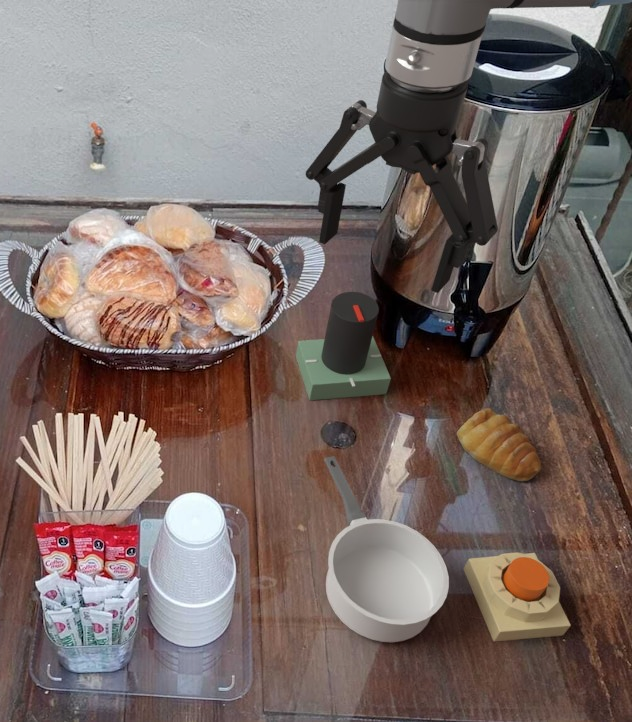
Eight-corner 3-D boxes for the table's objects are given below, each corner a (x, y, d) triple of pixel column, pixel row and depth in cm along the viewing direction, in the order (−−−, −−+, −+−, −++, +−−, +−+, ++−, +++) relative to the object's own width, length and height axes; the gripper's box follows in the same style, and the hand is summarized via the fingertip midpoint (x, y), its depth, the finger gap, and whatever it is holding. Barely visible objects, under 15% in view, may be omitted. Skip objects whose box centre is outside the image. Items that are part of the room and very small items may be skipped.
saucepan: (368, 475, 90) (377, 446, 86) (456, 635, 76) (472, 608, 72) (275, 496, 89) (280, 467, 85) (348, 662, 75) (358, 637, 71)
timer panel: (366, 346, 105) (370, 329, 103) (388, 399, 98) (393, 382, 96) (294, 351, 105) (296, 335, 103) (311, 405, 98) (314, 389, 96)
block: (528, 563, 82) (540, 543, 79) (563, 635, 76) (578, 617, 73) (463, 568, 81) (473, 549, 79) (493, 641, 76) (505, 623, 73)
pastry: (550, 467, 90) (562, 447, 87) (511, 495, 88) (522, 475, 85) (485, 417, 96) (494, 396, 93) (447, 441, 93) (455, 421, 91)
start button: (532, 565, 77) (539, 555, 76) (548, 599, 75) (556, 588, 73) (497, 569, 77) (503, 558, 76) (512, 602, 75) (519, 592, 73)
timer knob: (316, 345, 101) (326, 291, 95) (358, 342, 101) (371, 287, 95) (327, 376, 97) (338, 322, 91) (371, 372, 98) (385, 318, 91)
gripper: (286, 54, 74) (268, 234, 89) (549, 133, 62) (476, 327, 77) (328, 28, 78) (303, 205, 93) (583, 97, 66) (507, 288, 81)
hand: (381, 260), depth 85 cm, fingers open, 13 cm apart
